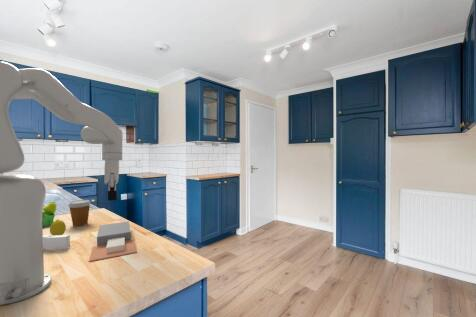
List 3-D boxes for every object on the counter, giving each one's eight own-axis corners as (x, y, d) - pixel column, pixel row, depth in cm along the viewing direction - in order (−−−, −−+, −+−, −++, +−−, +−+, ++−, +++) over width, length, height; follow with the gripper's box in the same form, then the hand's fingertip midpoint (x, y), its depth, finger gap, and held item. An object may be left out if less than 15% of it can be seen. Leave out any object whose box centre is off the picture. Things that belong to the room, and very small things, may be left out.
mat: (136, 252, 84) (136, 251, 84) (88, 262, 77) (88, 260, 77) (134, 240, 96) (134, 239, 96) (92, 247, 89) (92, 246, 89)
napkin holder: (78, 247, 91) (78, 233, 90) (43, 259, 81) (43, 243, 81) (60, 240, 98) (60, 227, 98) (26, 250, 88) (25, 236, 88)
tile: (124, 249, 86) (124, 244, 86) (106, 253, 83) (106, 247, 83) (124, 241, 94) (124, 236, 94) (108, 244, 91) (108, 239, 91)
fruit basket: (34, 223, 120) (33, 202, 120) (55, 219, 126) (55, 199, 126) (35, 228, 112) (35, 206, 111) (58, 224, 118) (57, 203, 118)
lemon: (57, 240, 97) (56, 221, 96) (46, 239, 98) (46, 221, 97) (69, 235, 102) (68, 218, 102) (59, 234, 103) (58, 217, 103)
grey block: (130, 241, 95) (130, 231, 95) (97, 247, 90) (96, 237, 90) (129, 229, 109) (128, 221, 109) (100, 234, 104) (99, 225, 104)
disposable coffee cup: (88, 226, 115) (88, 202, 115) (66, 228, 111) (65, 204, 111) (93, 220, 124) (92, 199, 123) (72, 222, 120) (71, 200, 120)
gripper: (103, 157, 101) (103, 198, 101) (100, 156, 88) (100, 204, 88) (122, 157, 105) (122, 196, 105) (122, 156, 91) (122, 202, 91)
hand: (112, 200), depth 96 cm, fingers closed
